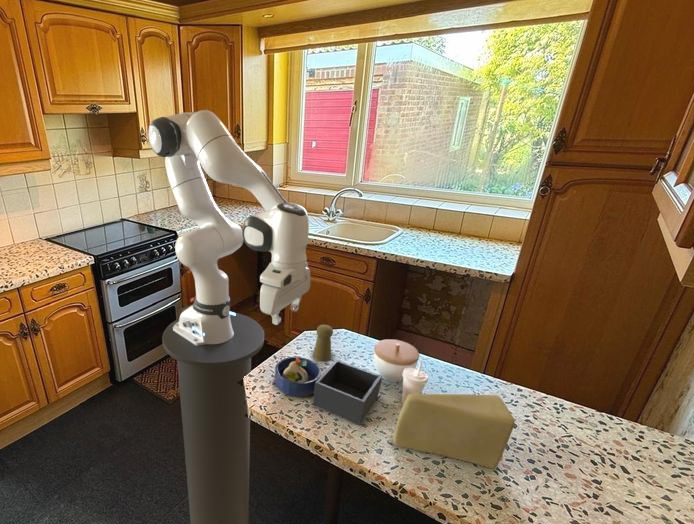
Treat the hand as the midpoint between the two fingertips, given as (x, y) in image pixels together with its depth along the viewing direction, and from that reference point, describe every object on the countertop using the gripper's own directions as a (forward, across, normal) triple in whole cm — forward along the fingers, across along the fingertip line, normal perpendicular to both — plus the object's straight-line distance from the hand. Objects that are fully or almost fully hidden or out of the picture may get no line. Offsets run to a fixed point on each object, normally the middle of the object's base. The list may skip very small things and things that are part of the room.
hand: (285, 316), depth 108 cm
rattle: (+23, -4, +3) cm, 24 cm away
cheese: (+24, -2, +44) cm, 50 cm away
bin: (+23, -5, +18) cm, 30 cm away
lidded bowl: (+24, -25, +24) cm, 42 cm away
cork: (+23, -22, +2) cm, 32 cm away
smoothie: (+24, -15, +32) cm, 43 cm away
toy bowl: (+23, -4, +3) cm, 24 cm away
